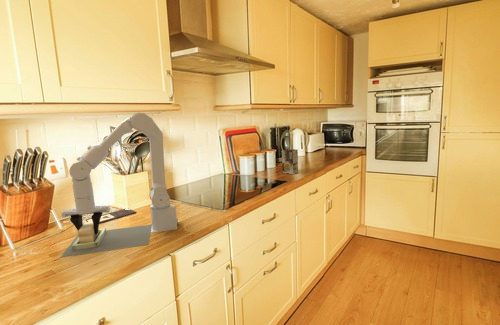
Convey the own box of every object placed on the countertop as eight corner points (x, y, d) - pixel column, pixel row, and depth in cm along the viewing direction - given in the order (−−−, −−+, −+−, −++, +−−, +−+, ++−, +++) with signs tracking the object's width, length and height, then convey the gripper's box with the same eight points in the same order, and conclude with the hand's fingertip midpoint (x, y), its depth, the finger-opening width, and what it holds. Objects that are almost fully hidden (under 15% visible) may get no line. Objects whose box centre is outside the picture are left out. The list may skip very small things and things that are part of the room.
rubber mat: (152, 225, 116) (152, 224, 115) (148, 246, 97) (148, 244, 97) (79, 235, 109) (78, 233, 109) (60, 258, 91) (60, 257, 91)
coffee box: (298, 172, 201) (298, 149, 198) (293, 174, 196) (292, 150, 194) (287, 171, 207) (286, 148, 204) (282, 173, 202) (281, 149, 200)
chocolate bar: (136, 211, 131) (93, 224, 118) (136, 214, 131) (94, 226, 119) (127, 208, 137) (85, 219, 124) (127, 210, 138) (86, 221, 125)
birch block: (93, 242, 98) (91, 229, 98) (79, 244, 97) (77, 231, 97) (99, 232, 107) (97, 220, 106) (86, 233, 106) (85, 221, 105)
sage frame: (106, 232, 109) (105, 228, 109) (97, 246, 97) (97, 242, 97) (83, 235, 108) (83, 231, 107) (72, 250, 96) (71, 246, 95)
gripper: (109, 191, 105) (114, 227, 108) (64, 195, 102) (70, 232, 104) (105, 196, 99) (110, 234, 101) (56, 201, 95) (63, 240, 97)
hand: (89, 234), depth 102 cm, fingers closed on birch block, 4 cm apart
